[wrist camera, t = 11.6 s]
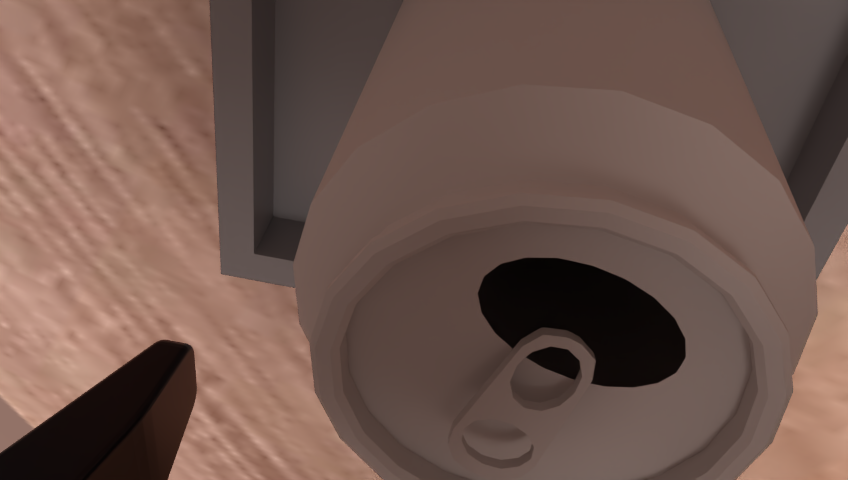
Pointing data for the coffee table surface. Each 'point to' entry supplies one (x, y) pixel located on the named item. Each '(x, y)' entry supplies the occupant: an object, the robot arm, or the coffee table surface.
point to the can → (555, 250)
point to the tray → (353, 62)
